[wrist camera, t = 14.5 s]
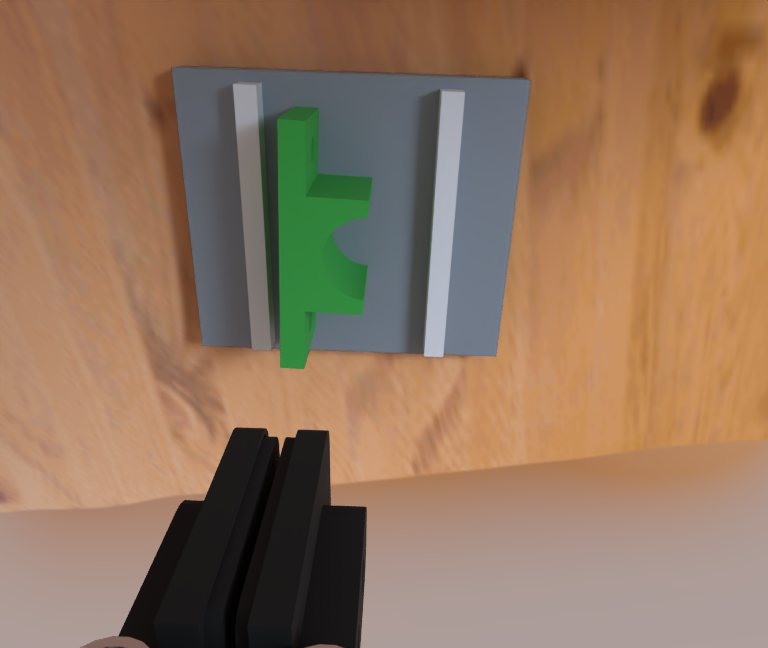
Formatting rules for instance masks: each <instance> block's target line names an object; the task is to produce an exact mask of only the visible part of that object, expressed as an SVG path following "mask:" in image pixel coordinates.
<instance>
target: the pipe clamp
mask: <svg viewBox="0 0 768 648" xmlns="http://www.w3.org/2000/svg"><path fill="white" fill-rule="evenodd" d="M277 134H278V213H279V291H280V368H296V369H304V368H305V364H306V361H307V357H308V354H309V350H310V346H311V343H312V339H313V335H314V332H315V328H316V312H320V313H335V314H350V315H363V308H364V300H365V291H366V283H367V270H368V265H363V264H359V263H356V262H354V261H352V260H350V259H348V258H347V257H346V256H345V255H344V254H343V253H342V252H341V251H340V250H339V249H338V247H337V245H336V243H335V241H334V238H333V231H334V230H335V229H336V228H338V227H339V226H340V225H342V224H344V223H346V222H348V221H351V220H355V219H361V218H368V213H369V207H370V200H371V194H372V178H373V177H360V176H345V175H330V174H318V146H319V108H311V107H296V106H294V107H293V108H292V109H290V110H289V111H288V112H286V113H285V114H284V115H282V116H281V117H280V118H278V119H277Z"/></svg>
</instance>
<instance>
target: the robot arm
mask: <svg viewBox="0 0 768 648" xmlns="http://www.w3.org/2000/svg"><path fill="white" fill-rule="evenodd" d="M330 495H331V494H330V442H329V431H322V430H298V431H297V434H296V438H291V437H286V438H285V441H284V445H283V448H282V452H281V455H280V454H279V441H278V438H277V437H268V431H267V429H265V428H235V429H234V430H233V432H232V435H231V437H230V439H229V442H228V444H227V447H226V449H225V451H224V454H223V456H222V459H221V461H220V463H219V466H218V468H217V471H216V473H215V476H214V478H213V480H212V483H211V485H210V488H209V490H208V492H207V495H206V497H205V500H204V501H191V500H184V501H183V502H182V503H181V504H180V506H179V508H178V509H177V511H176V513H175V515H174V517H173V520H172V522H171V524H170V526H169V528H168V531H167V532H166V535H165V537H164V539H163V541H162V544H161V545H160V547H159V550H158V552H157V554H156V556H155V558H154V561H153V563H152V565H151V567H150V569H149V571H148V574H147V576H146V578H145V580H144V582H143V585H142V586H141V588H140V591H139V593H138V595H137V597H136V600H135V602H134V604H133V606H132V608H131V610H130V612H129V615H128V617H127V619H126V621H125V623H124V625H123V627H122V630H121V632H120V634H119V636H112V637H108V638H104V639H99V640H95V641H93V642H91V643H89V644H87V645H85V646H83V647H80V648H360V642H361V627H362V613H363V597H364V582H365V559H366V521H367V519H366V518H367V513H366V512H367V509H366V507H357V506H331V497H330Z"/></svg>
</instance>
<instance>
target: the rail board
mask: <svg viewBox="0 0 768 648" xmlns="http://www.w3.org/2000/svg"><path fill="white" fill-rule="evenodd" d="M171 69H172V78H173V87H174V96H175V105H176V114H177V123H178V132H179V141H180V150H181V158H182V167H183V176H184V185H185V194H186V203H187V212H188V221H189V230H190V239H191V248H192V257H193V266H194V274H195V283H196V292H197V301H198V310H199V319H200V328H201V337H202V346H223V347H250V348H252V350H263V351H271V350H272V348H277V349H280V291H279V213H278V134H277V119H278V118H280V117H281V116H282V115H284V114H285V113H286V112H288V111H289V110H290V109H292V108H293V107H294V106H296V107H311V108H319V146H318V174H330V175H345V176H360V177H373V178H372V194H371V200H370V207H369V213H368V218H361V219H355V220H351V221H348V222H346V223H344V224H342V225H340V226H339V227H338V228H336V229H335V230H334V231H333V238H334V241H335V243H336V245H337V247H338V249H339V250H340V251H341V252H342V253H343V254H344V255H345V256H346V257H347V258H348V259H350V260H352V261H354V262H356V263H359V264H363V265H368V270H367V283H366V291H365V300H364V308H363V315H350V314H335V313H320V312H316V328H315V332H314V335H313V339H312V343H311V346H310V350H332V351H359V352H387V353H414V354H424V356H426V357H443V355H468V356H496V354H497V346H498V338H499V330H500V322H501V315H502V307H503V299H504V291H505V283H506V275H507V267H508V259H509V251H510V243H511V235H512V227H513V219H514V211H515V203H516V195H517V188H518V180H519V172H520V164H521V156H522V148H523V140H524V132H525V124H526V116H527V108H528V100H529V92H530V84H531V80H530V79H527V78H525V77H496V76H466V75H437V74H408V73H379V72H349V71H320V70H291V69H261V68H232V67H203V66H178V67H172V68H171Z"/></svg>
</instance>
